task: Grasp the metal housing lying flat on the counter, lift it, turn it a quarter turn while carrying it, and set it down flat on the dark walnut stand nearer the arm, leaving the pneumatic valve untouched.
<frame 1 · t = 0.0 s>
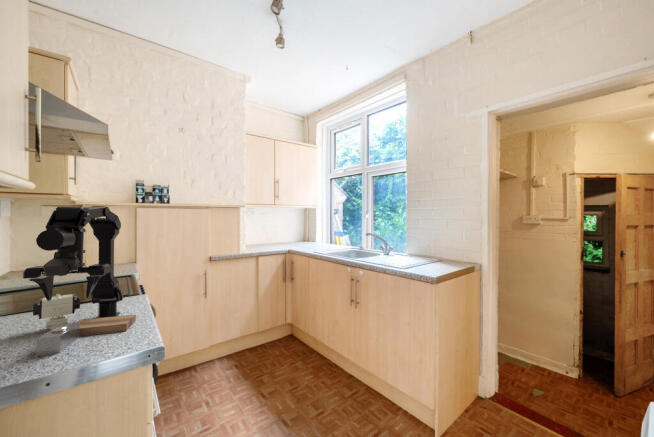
hand: (69, 299, 80), 15 cm above the counter, fingers open, 9 cm apart
pneumatic valve: (56, 328, 95), on the counter
housing: (59, 346, 81), on the counter
walnut stand: (104, 328, 95), on the counter
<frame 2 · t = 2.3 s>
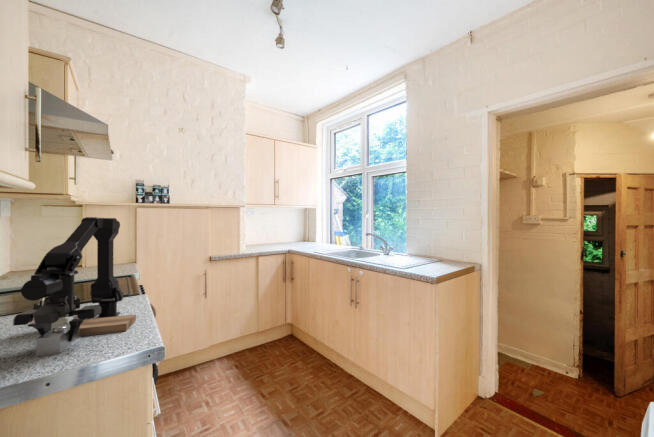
hand: (59, 342, 81), 1 cm above the counter, fingers closed on housing, 5 cm apart
housing: (59, 346, 81), on the counter, touching gripper
everything else where it was.
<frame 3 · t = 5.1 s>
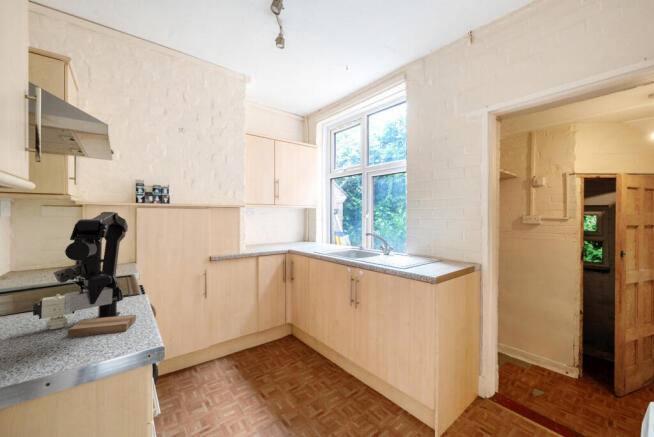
hand: (89, 302, 90), 11 cm above the counter, fingers closed on housing, 5 cm apart
housing: (89, 306, 90), point 10 cm above the counter, touching gripper
everything else where it was.
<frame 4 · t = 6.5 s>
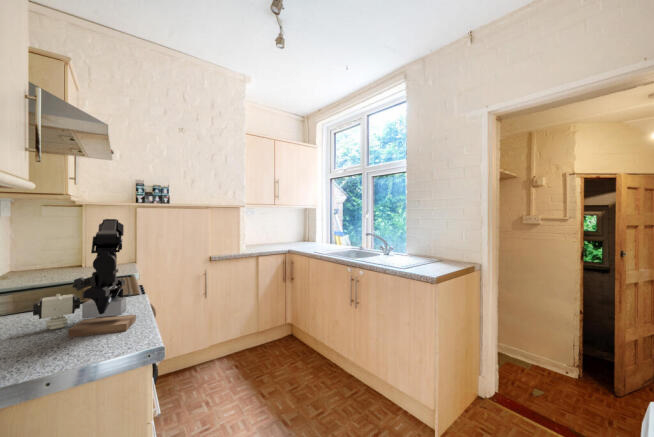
hand: (104, 311, 95), 6 cm above the counter, fingers closed on housing, 5 cm apart
housing: (105, 314, 95), point 5 cm above the counter, touching gripper
everything else where it was.
when the fingers open (5 cm above the counter, at t = 7.5 s): housing drops 1 cm, resting on walnut stand.
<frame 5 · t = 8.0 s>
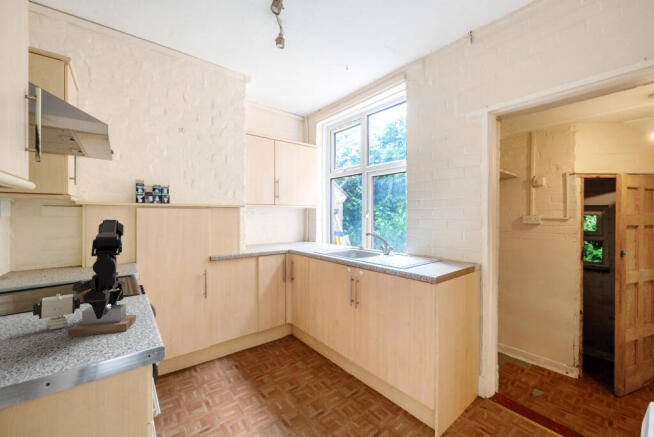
hand: (104, 314, 95), 5 cm above the counter, fingers open, 9 cm apart
housing: (104, 321, 95), point 2 cm above the counter, touching walnut stand
everything else where it was.
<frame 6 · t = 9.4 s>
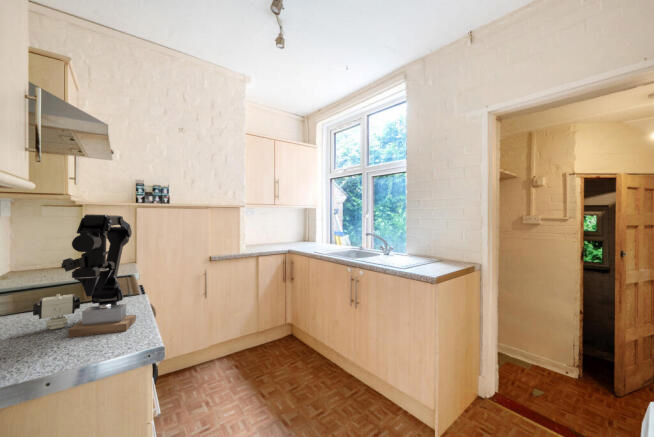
hand: (94, 293, 95), 13 cm above the counter, fingers open, 9 cm apart
nothing on the counter moved.
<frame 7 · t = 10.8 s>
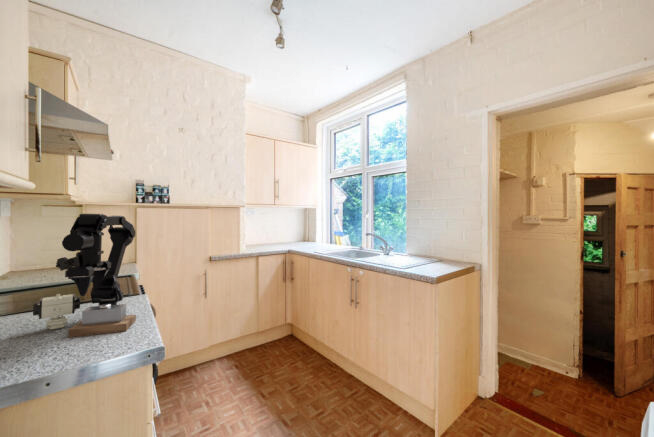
hand: (89, 292, 94), 13 cm above the counter, fingers open, 9 cm apart
nothing on the counter moved.
at the end: housing inside the target area on the walnut stand (0.1 cm from its centre), point 2.5 cm above the walnut stand's base; housing tilted 0°; the gripper is holding nothing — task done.
